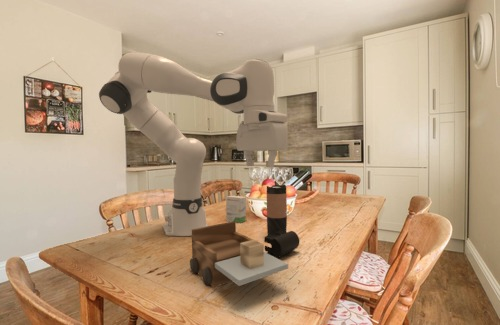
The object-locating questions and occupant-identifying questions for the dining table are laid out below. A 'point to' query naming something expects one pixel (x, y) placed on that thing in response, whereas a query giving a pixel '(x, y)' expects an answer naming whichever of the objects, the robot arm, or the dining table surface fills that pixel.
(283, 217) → the travel mug
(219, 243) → the tray
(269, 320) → the dining table surface
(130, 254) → the dining table surface
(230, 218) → the ink box
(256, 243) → the beech block
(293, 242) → the end cap
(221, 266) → the tailgate
